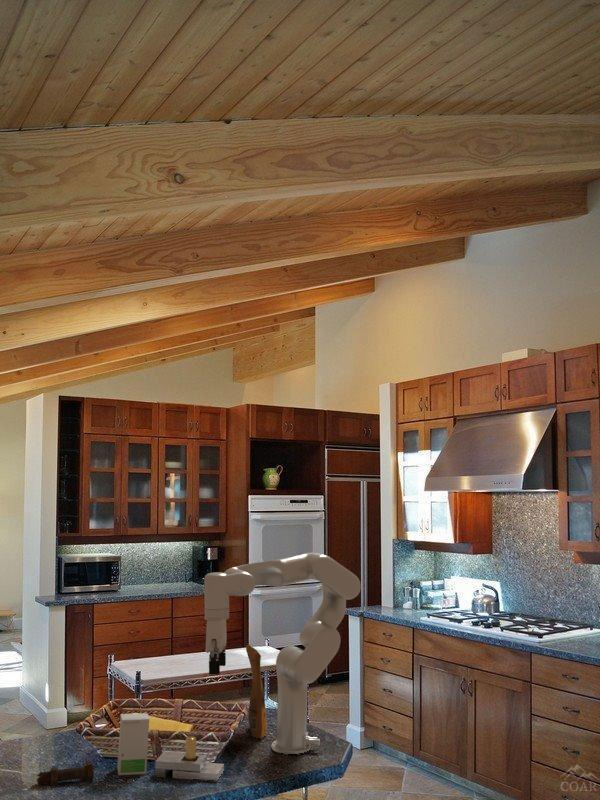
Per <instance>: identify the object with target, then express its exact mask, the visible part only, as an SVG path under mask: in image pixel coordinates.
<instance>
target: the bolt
mask: <svg viewBox="0 0 600 800" xmlns="http://www.w3.org/2000/svg"><path fill="white" fill-rule="evenodd" d="M36 776H37V777H38V778H36V783H37V785H44V784H50V783H51V784H50V786H51V785H54V786H57V785H58V783H59V782H66V781H67V782H68V781H75V780H86V782H87V783H93V782H94V762H93V760H87V761H86V765H81V766H78V767H70V768H65V769H64V768H63V769H58V766H51V768H50V770H48V771H40V772H39V773H38V774H36Z"/></svg>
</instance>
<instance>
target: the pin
mask: <svg viewBox="0 0 600 800" xmlns="http://www.w3.org/2000/svg"><path fill="white" fill-rule="evenodd" d="M196 752H197V737H196V736H187V737H186V738H185V752H184V753H185V761H193V762H196V754H197V753H196Z"/></svg>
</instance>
